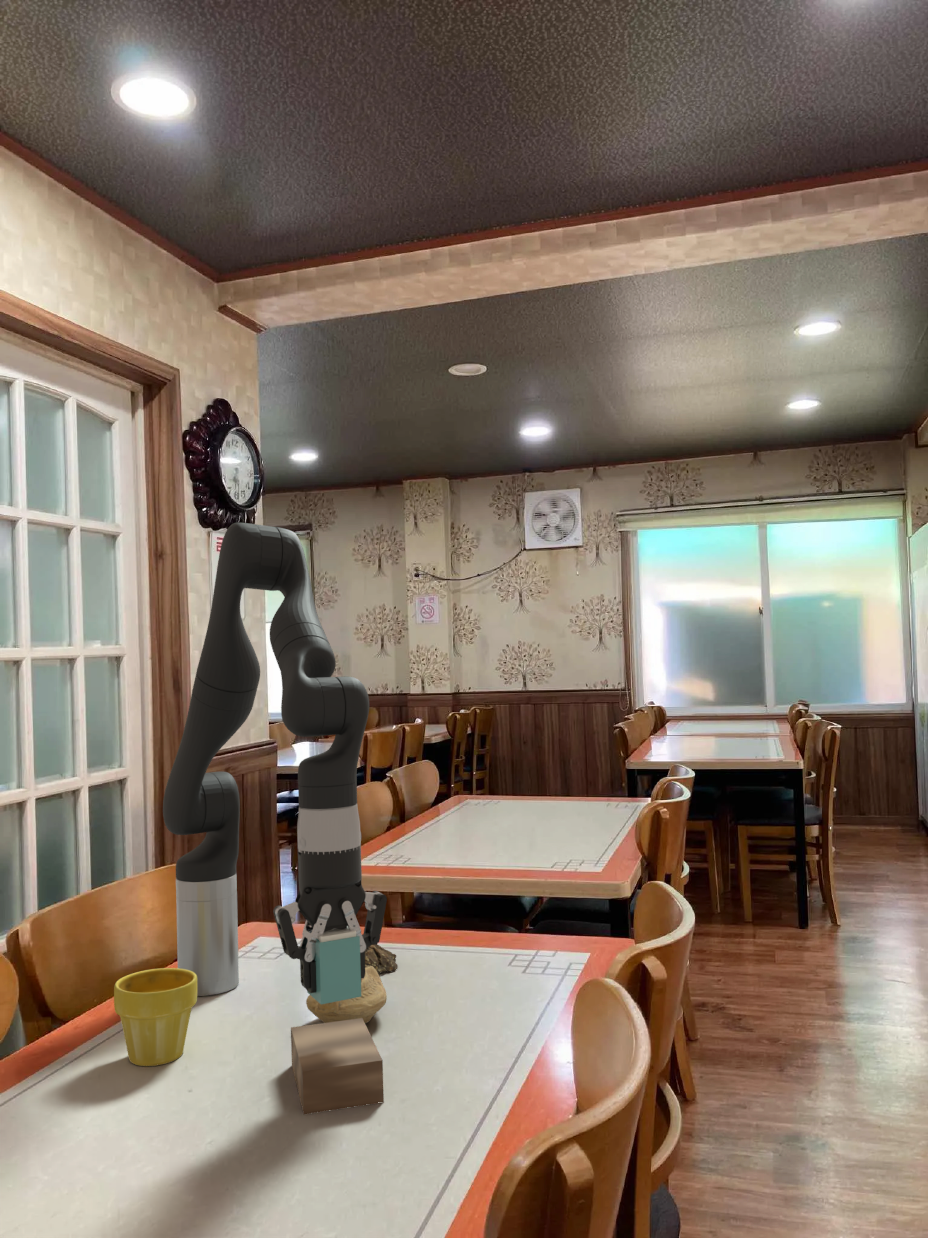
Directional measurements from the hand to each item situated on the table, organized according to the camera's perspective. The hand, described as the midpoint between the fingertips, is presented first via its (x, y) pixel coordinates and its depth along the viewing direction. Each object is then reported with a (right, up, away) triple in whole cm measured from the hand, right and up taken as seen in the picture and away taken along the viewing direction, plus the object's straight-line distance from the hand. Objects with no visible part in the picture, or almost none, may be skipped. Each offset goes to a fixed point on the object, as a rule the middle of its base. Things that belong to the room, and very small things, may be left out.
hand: (333, 986), depth 117 cm
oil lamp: (0, -12, +20) cm, 24 cm away
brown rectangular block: (0, -12, -1) cm, 12 cm away
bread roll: (-1, -14, +44) cm, 46 cm away
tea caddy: (0, -1, 0) cm, 1 cm away
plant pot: (-24, -13, +9) cm, 29 cm away
